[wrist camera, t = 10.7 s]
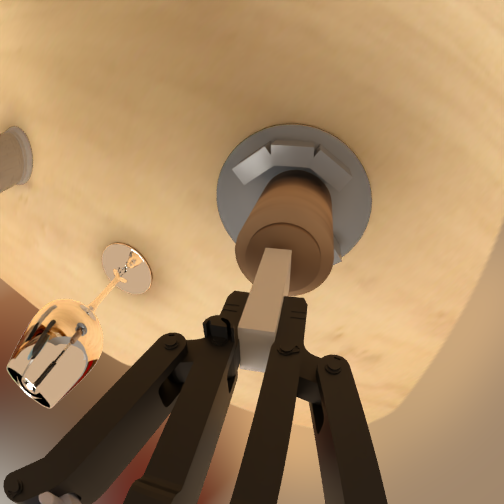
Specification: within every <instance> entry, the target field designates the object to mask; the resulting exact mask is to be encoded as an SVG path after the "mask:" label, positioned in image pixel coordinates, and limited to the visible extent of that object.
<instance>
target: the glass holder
mask: <svg viewBox="0 0 504 504" xmlns="http://www.w3.org/2000/svg"><path fill="white" fill-rule="evenodd" d="M32 167H33V156H32V149H31V146H30V142H29V140H28V138H27V136H26V134H25V133H24V131H23V130H22V129H20V128H19V127H16V126H13V127H10V128H9V129H7V130H6V131H5V132H4V133H2V134H0V193H1V192H3V191H5V190H7V189H8V188H10V187H12V186H14V185H17V184H18V185H21V184H24V183H26V182H27V181H28V180H29V178H30V176H31V173H32Z"/></svg>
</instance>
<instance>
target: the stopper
mask: <svg viewBox="0 0 504 504" xmlns="http://www.w3.org/2000/svg"><path fill="white" fill-rule="evenodd" d="M265 248H275V249H286V250H292V255H291V270H290V285H289V293H288V296H296V295H301V294H305V293H307V292H310V291H312V290H314V289H315V288H317V287H318V286H320V285H321V284H322V283H323V282H324V281H325V280H326V278H327V277H328V275H329V274H330V272H331V269H332V266H333V262H334V241H333V217H332V200H331V195H330V192H329V190H328V188H327V187H326V185H325V184H324V183H323V182H322V180H320V179H319V178H318V177H317V176H315V175H313V174H311V173H309V172H306V171H302V170H289V171H285V172H282V173H280V174H278V175H276V176H275V177H273V178H272V179H271V180H270V181H269V183H268V184H267V185H266V187H265V189H264V190H263V192H262V194H261V196H260V197H259V199H258V201H257V203H256V204H255V206H254V208H253V210H252V211H251V213H250V215H249V217H248V218H247V220H246V222H245V224H244V225H243V227H242V229H241V231H240V232H239V235H238V237H237V240H236V246H235V254H236V259H237V263H238V265H239V267H240V269H241V271H242V273H243V274H244V275H245V277H246V278H247V279H248V280H249V281H250V282H251V283H252V284H253V282H254V280H255V277H256V274H257V271H258V268H259V265H260V262H261V260H262V257H263V254H264V251H265Z"/></svg>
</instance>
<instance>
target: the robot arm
mask: <svg viewBox="0 0 504 504" xmlns="http://www.w3.org/2000/svg"><path fill="white" fill-rule="evenodd" d="M291 255H292V250H286V249H275V248H265V251H264V254H263V257H262V260H261V262H260V265H259V268H258V271H257V274H256V277H255V280H254V282H253V285H252V288H251V291H250V293H248V292H240V291H234V292H233V293H232V294H230V295H229V296H228V298H227V300H226V302H225V305H224V307H223V310H222V311H221V314H220V315H215V316H211V317H209V318H208V319H206V320H205V321H204V322H203V328H204V335H205V338H202V339H197V340H186V339H185V338H184V336H182V335H181V334H178V333H168V334H165V335H163V336H161V337H160V338H159V339H158V340H157V341H156V342H155V343H154V344H153V345H152V346H151V347H150V348H149V349H148V350H147V351H146V352H145V353H144V354H143V355H142V356H141V357H140V359H139V360H138V361H137V362H136V363H135V364H134V365H133V366H132V367H131V368H130V369H129V370H128V371H127V372H126V373H125V374H124V375H123V376H122V377H121V378H120V379H119V380H118V381H117V382H116V383H115V384H114V386H112V388H110V390H109V391H108V392H107V393H106V394H105V395H104V396H103V397H102V398H101V399H100V400H99V401H98V402H97V403H96V404H95V405H94V406H93V407H92V408H91V409H90V410H89V411H88V412H87V413H86V414H85V415H84V416H83V418H82V419H81V420H80V421H79V422H78V423H77V424H76V425H75V426H74V427H73V428H72V429H71V430H70V431H69V432H68V433H67V434H66V435H65V436H64V438H63V439H61V441H60V442H59V443H58V444H57V445H56V446H55V447H54V448H53V449H52V450H51V451H50V452H49V453H48V454H47V455H46V456H45V457H44V458H42V459H40V460H38V461H36V462H34V463H32V464H30V465H27V466H25V467H23V468H21V469H18V470H16V471H14V472H11V473H10V474H8V475H7V476H6V478H5V480H4V491H5V493H6V495H7V497H8V498H9V499H10V500H12V501H13V502H15V503H17V504H92V503H93V502H95V501H96V500H97V499H98V498H99V497H100V496H101V495H102V494H103V493H104V492H105V491H106V490H107V489H108V488H109V487H110V485H111V484H112V483H113V482H114V481H115V480H116V478H117V477H118V476H119V475H120V474H121V472H122V471H123V470H124V469H125V468H126V466H127V465H128V464H129V463H130V462H131V460H132V459H133V458H134V457H135V456H136V455H137V453H138V452H139V451H140V450H141V448H142V447H143V446H144V445H145V444H146V442H147V441H148V440H149V438H150V437H151V436H152V435H153V434H154V433H155V431H156V430H157V429H158V428H159V426H160V425H161V424H162V423H163V421H164V420H165V419H166V418H167V416H168V415H169V414H170V413H171V414H170V416H169V419H168V421H167V423H166V425H165V428H164V430H163V432H162V434H161V437H160V439H159V441H158V443H157V446H156V448H155V450H154V453H153V455H152V457H151V459H150V462H149V464H148V466H147V468H146V471H145V473H144V475H143V476H142V477H141V478H140V479H138V480H136V481H135V482H134V483H133V484H132V486H131V487H130V489H129V491H128V494H127V496H126V498H125V501H124V503H123V504H197V502H198V499H199V495H200V493H201V490H202V487H203V484H204V481H205V478H206V475H207V471H208V469H209V465H210V463H211V459H212V457H213V454H214V451H215V447H216V444H217V441H218V438H219V435H220V432H221V429H222V425H223V422H224V420H225V416H226V413H227V410H228V407H229V404H230V401H231V397H232V394H233V391H234V388H235V385H236V381H237V377H238V372H237V370H238V367H239V364H240V369H245V370H251V371H258V372H265V374H264V378H263V382H262V386H261V390H260V394H259V398H258V402H257V406H256V410H255V414H254V418H253V422H252V426H251V430H250V434H249V437H248V441H247V445H246V448H245V452H244V456H243V459H242V463H241V467H240V470H239V474H238V477H237V481H236V485H235V488H234V491H233V495H232V498H231V501H230V504H277V500H278V495H279V490H280V486H281V480H282V476H283V471H284V466H285V460H286V454H287V450H288V444H289V439H290V432H291V427H292V421H293V415H294V408H295V402H296V397H298V398H301V399H303V400H306V401H308V402H309V406H310V411H311V417H312V423H313V429H314V435H315V440H316V446H317V452H318V458H319V465H320V471H321V478H322V484H323V491H324V497H325V504H387V499H386V495H385V491H384V487H383V482H382V479H381V474H380V470H379V466H378V462H377V458H376V455H375V451H374V447H373V444H372V440H371V436H370V432H369V429H368V425H367V422H366V418H365V415H364V411H363V408H362V404H361V401H360V398H359V394H358V391H357V388H356V385H355V381H354V378H353V375H352V372H351V369H350V365H349V363H348V362H347V360H345V359H344V358H343V357H341V356H338V355H327V356H324V357H323V358H319V357H317V356H314V355H312V354H310V353H309V352H308V351H307V350H306V348H305V346H304V333H305V324H306V315H307V303H306V301H305V299H304V298H298V297H289V296H288V293H289V285H290V270H291ZM171 411H172V412H171Z"/></svg>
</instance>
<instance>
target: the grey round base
mask: <svg viewBox="0 0 504 504" xmlns="http://www.w3.org/2000/svg"><path fill="white" fill-rule="evenodd" d="M289 170H302V171H306V172H309V173H311V174H313V175H315V176H317V177H318V178H319V179H320V180H322V182H323V183H324V184H325V185H326V187H327V188H328V190H329V192H330V195H331V200H332V217H333V241H334V262H333V265H335V264H337V263H339V262H341V261H342V257H343V256H344V255H345V254H347V253H348V252H349V251H350V250H351V249H352V248H353V247H354V246H355V245H356V244H357V242H358V241H359V240H360V238H361V237H362V235H363V233H364V231H365V229H366V227H367V224H368V221H369V218H370V213H371V204H372V198H371V189H370V184H369V180H368V178H367V175H366V172H365V170H364V168H363V166H362V165H361V163H360V161H359V159H358V158H357V157H356V155H355V154H354V153H353V151H352V150H351V149H350V148H349V147H348V146H347V145H346V144H345V143H343V142H342V141H341V140H339V139H338V138H337V137H335V136H333V135H332V134H330V133H328V132H326V131H324V130H321V129H319V128H315V127H312V126H308V125H301V124H283V125H276V126H272V127H269V128H265V129H263V130H261V131H258V132H256V133H254V134H253V135H251V136H250V137H248V138H247V139H245V140H244V141H243V142H241V143H240V144H239V145H238V146H237V147H236V148H235V149H234V150H233V151H232V153H231V154H230V155H229V157H228V158H227V160H226V161H225V163H224V165H223V167H222V170H221V172H220V175H219V179H218V184H217V206H218V211H219V215H220V218H221V220H222V223H223V225H224V227H225V229H226V231H227V233H228V234H229V235H230V237H231V238H232V240H233V241H234V242H235V243H236V240H237V237H238V235H239V232H240V231H241V229H242V227H243V225H244V224H245V222H246V220H247V218H248V217H249V215H250V213H251V211H252V210H253V208H254V206H255V204H256V203H257V201H258V199H259V197H260V196H261V194H262V192H263V190H264V189H265V187H266V185H267V184H268V183H269V181H270V180H271V179H272V178H273V177H275V176H276V175H278V174H280V173H282V172H285V171H289Z"/></svg>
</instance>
